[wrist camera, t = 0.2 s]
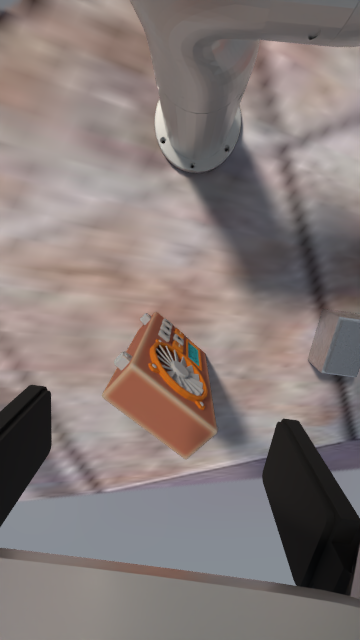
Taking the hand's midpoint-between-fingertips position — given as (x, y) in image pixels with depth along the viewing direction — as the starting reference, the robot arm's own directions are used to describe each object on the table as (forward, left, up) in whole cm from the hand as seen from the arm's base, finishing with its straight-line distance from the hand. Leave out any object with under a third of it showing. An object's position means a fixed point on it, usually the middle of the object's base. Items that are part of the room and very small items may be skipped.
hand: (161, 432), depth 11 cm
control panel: (+11, -1, -37) cm, 38 cm away
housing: (+6, +28, -37) cm, 47 cm away
